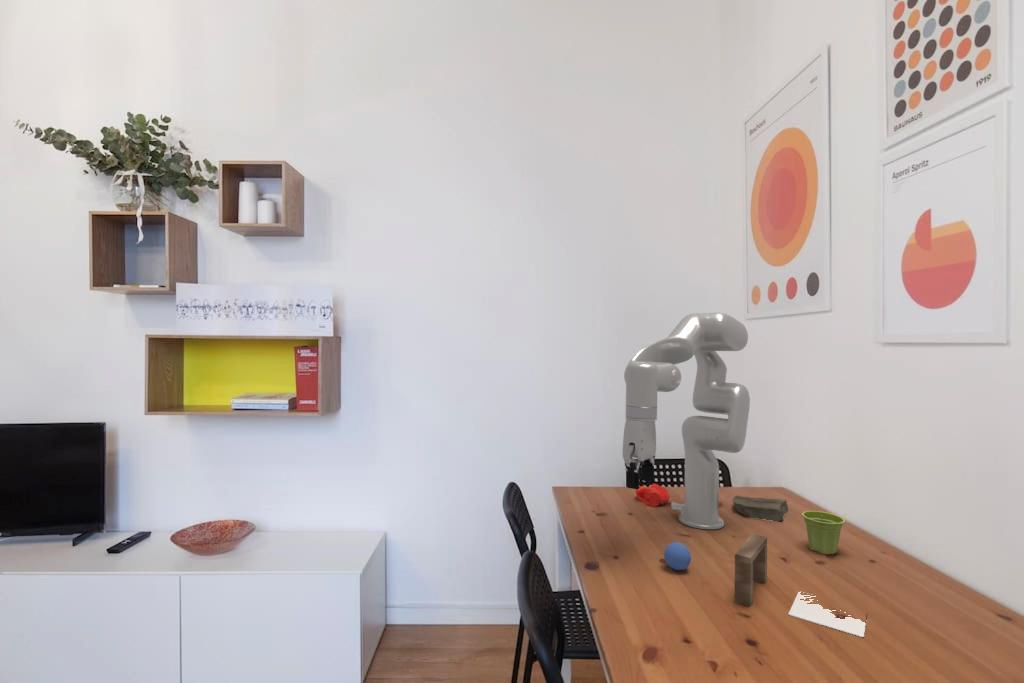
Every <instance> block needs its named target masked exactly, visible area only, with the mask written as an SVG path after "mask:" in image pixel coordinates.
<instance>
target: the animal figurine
mask: <svg viewBox="0 0 1024 683" xmlns="http://www.w3.org/2000/svg"><path fill="white" fill-rule="evenodd" d="M634 492H635V494H636V496H635V498H636V499H639V500H640V501H641V502H642V503H643V504H645V505H647V506H651V507H655V508H656V507H657V506H659V505H660V504H661V505H662V504H666V503H668V502H669V501H670V499H671V496H670V493H669V491H668V490H667V489H666V487H664V486H662V485H658V484H657V483H652V484H651V485H650V486H649V487H645V486H644V485H641V486H639V489H635V491H634Z"/></svg>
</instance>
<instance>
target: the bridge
mask: <svg viewBox="0 0 1024 683" xmlns="http://www.w3.org/2000/svg"><path fill="white" fill-rule="evenodd" d="M767 570H768V536H766V535H762V534H757V533H752V534H751V535H750V536H749V537H748V538H747V539H746V541H745V542H744V543H743V544H742V545H741V547H739V548H738V550H737V551H736V552H735V554H734V599H733V600H734V603H737V604H738V605H739V604H740V605H744V606H746V607H752V605H753V603H754V599H753V598H754V581H755V582H757V583H761V584H766V582H767V580H768V571H767Z"/></svg>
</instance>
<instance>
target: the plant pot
mask: <svg viewBox="0 0 1024 683" xmlns="http://www.w3.org/2000/svg"><path fill="white" fill-rule="evenodd" d="M801 515H802V517H803V520H804V522H805V527H806V533H807V534H806V535H807V540H808V548H809V549H810V550H811V551H814V552H818V553H819V554H821V553H822V555H829V554H832V555H834V554H837V553H838V552H837V551H838V546H839V541H840V535H841V530H842V528H843V527H844V526H843V525H844V524H845V522H846V520H845V519H844V518H843V517H841V516H839V515H837V514H834V513H831V512H826V511H820V510H819V511H818V510H806V511H803V512H802V513H801Z"/></svg>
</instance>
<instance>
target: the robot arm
mask: <svg viewBox="0 0 1024 683" xmlns="http://www.w3.org/2000/svg"><path fill="white" fill-rule="evenodd" d="M748 340H749V333H748V330H747V328H746V327H745V325H744V324H743V323H742V322H741V321H739V320H737V319H736V318H734V317H732V316H731V315H729V314H727V313H725V312H701V313H699V312H698V313H690V314H687V315H685V316H684V317H683V318H682V319H681V320H680V321H679V323H677V325H676V326H675V327H674V328H673V330H672V331H671V332H670V333H669V335H668V336H667V337H665V338H662V339H659V340H658V341H656V342H654V343H651V344H649V345H647V346H645V347H643V348H642V349H640V350H639V351H637V352H636V354H635V355H633V357H632V358H631V359H630V360H629V362H628V363H627V365H626V367H625V370H624V374H623V375H624V376H623V378H624V382H625V423H624V430H623V440H622V455H621V456H622V459H623V462H624V466H625V486H626V488H628V489H633V490H636V489H639V487H641V486H640V484H641V482H640V480H641V481H643V482H649V483H653V482H654V481H655V464H656V463H655V458H656V452H657V433H656V432H657V431H656V428H657V427H656V421H657V420H658V392H659V393H669V392H673V391H675V390H676V389H677V388H678V387H679V386H680V384H681V382H682V373H681V370H680V369H679V367H678V366H677V365H678V364H681V363H685V362H688V361H689V360H690V359H692V358H693V356H694V358H695V361H696V375H695V380H694V387H693V391H692V392H693V393H692V407H694V409H695V410H697V411H699V412H701V413H708V414H714V415H715V414H717V415H727V418H723V417H714V416H706V415H692V416H691V415H690V416H688V417H686V418H685V419H684V420H683V422H682V424H681V435H682V441H683V442H682V443H683V447H684V449H683V450H684V503H678V502H674V501H672V502H671V503H670V507H671V510H672V511H674V512H678V513H679V515H678V520H679V522H680V523H682V524H684V526H685V525H686V526H688V527H691V528H693V529H701V530H718V529H722V528H723V527H724V525H725V521H724V519H723V518H721V517H720V516H719V497H720V496H719V493H720V492H719V490H720V486H719V485H720V484H719V483H720V481H719V480H720V476H719V475H720V465H719V461H718V459H717V457H716V455H715V454H714V452H713V451H718V452H723V453H732V454H737V453H739V452H741V451H742V450H743V447H744V446H745V442H746V436H747V430H748V422H749V414H750V407H751V406H750V405H751V401H750V400H751V398H750V392H749V390H748V388H747V387H746V386H744V385H743V384H742V383H738V382H735V383H734V382H726V380H727V379H726V378H727V370H728V368H727V366H726V363H725V360H723V359H722V357H721V356H720V355H719V354H718V352H740V351H742V350H743V349H745V348H746V347H747V344H748ZM641 462H642V463H641ZM640 464H641V465H640ZM639 469H640V472H639Z"/></svg>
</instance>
